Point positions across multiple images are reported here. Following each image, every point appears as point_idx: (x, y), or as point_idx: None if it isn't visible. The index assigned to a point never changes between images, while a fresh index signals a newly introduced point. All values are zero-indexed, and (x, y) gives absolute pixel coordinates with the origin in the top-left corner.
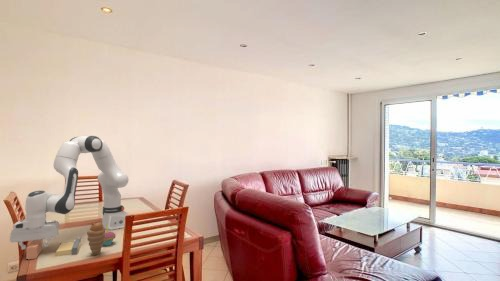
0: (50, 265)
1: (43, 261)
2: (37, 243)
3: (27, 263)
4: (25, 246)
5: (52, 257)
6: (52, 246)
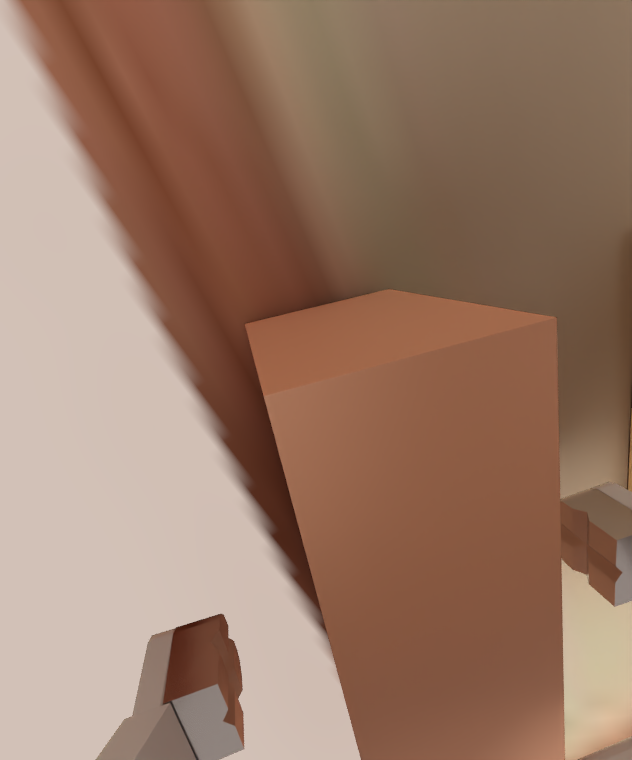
0: (615, 723)
1: None
2: (531, 701)
3: None
4: (227, 681)
5: None
6: (507, 130)
